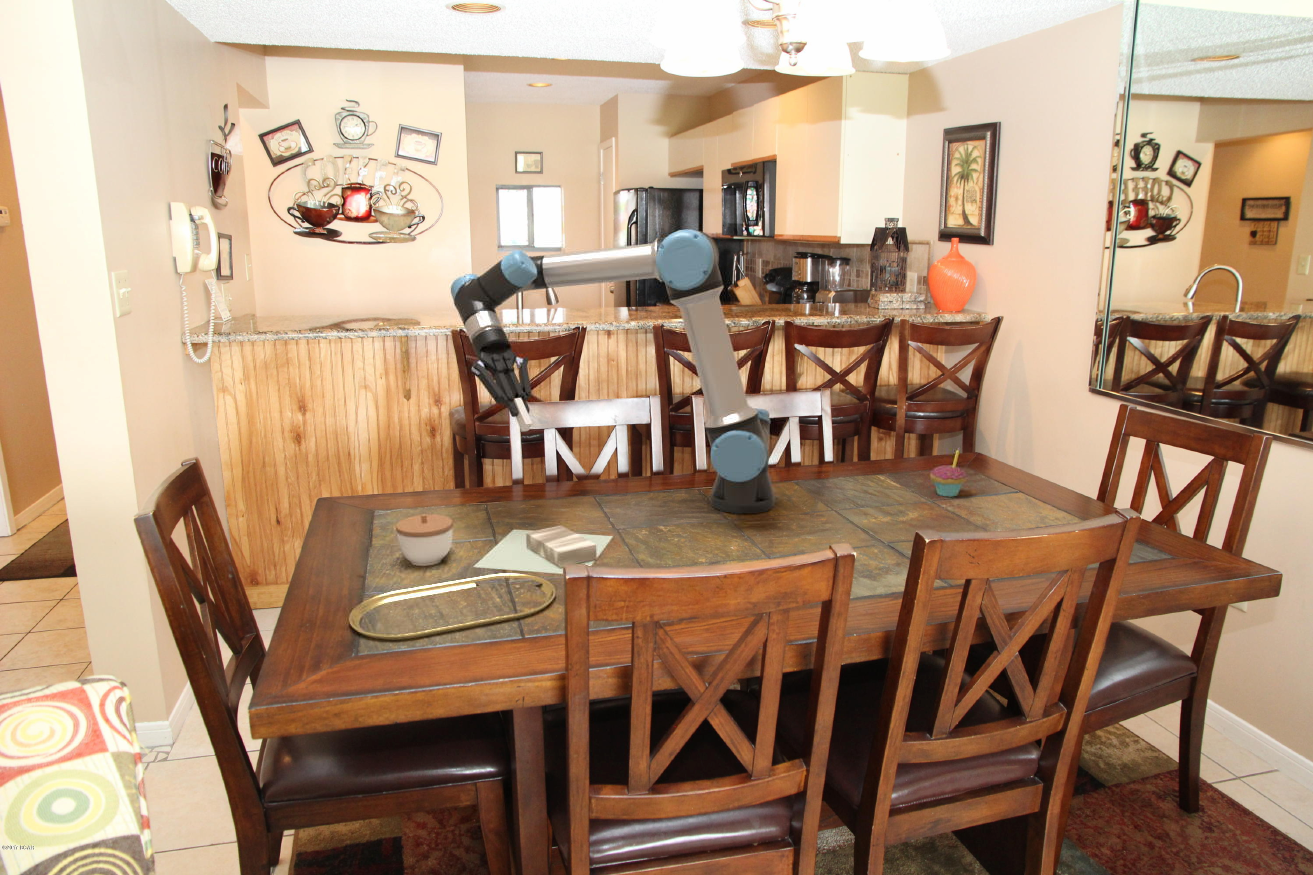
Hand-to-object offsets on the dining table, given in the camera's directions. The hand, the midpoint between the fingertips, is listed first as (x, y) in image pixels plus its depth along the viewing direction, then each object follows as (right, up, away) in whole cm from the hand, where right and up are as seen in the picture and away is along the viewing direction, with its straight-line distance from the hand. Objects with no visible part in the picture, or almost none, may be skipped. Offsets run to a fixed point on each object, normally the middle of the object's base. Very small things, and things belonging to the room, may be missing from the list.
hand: (527, 427), depth 183 cm
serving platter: (-8, -32, -29) cm, 44 cm away
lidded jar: (-19, -26, -7) cm, 33 cm away
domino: (+3, -22, 0) cm, 22 cm away
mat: (+4, -25, -3) cm, 26 cm away
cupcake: (+97, -16, +36) cm, 105 cm away
